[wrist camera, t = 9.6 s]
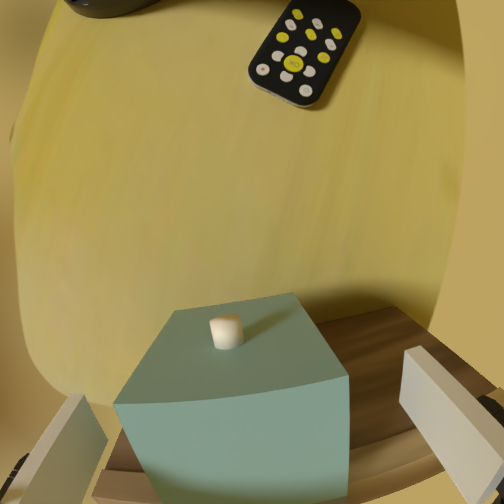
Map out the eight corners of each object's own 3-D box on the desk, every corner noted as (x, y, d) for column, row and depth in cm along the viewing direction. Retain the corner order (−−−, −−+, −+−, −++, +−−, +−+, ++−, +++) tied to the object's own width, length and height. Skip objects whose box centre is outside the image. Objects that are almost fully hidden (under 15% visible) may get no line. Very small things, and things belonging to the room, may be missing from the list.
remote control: (360, 17, 22) (367, 8, 20) (308, 116, 24) (314, 109, 22) (302, -12, 21) (306, -23, 19) (241, 82, 23) (241, 74, 21)
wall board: (158, 345, 26) (91, 495, 10) (395, 304, 27) (519, 403, 10) (165, 367, 27) (112, 519, 10) (394, 327, 27) (507, 434, 10)
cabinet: (171, 294, 18) (101, 375, 8) (290, 275, 18) (347, 344, 8) (210, 441, 19) (198, 554, 9) (308, 427, 19) (343, 537, 9)
